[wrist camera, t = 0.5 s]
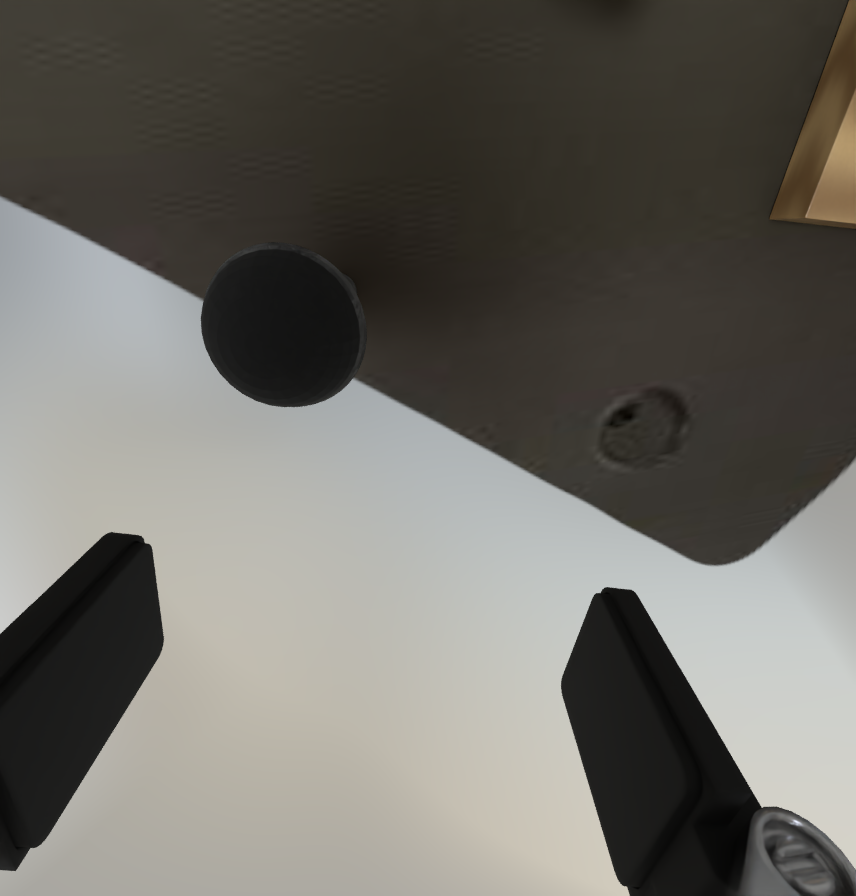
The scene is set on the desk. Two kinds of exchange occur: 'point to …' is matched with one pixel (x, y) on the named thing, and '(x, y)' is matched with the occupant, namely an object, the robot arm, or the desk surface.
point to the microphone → (283, 325)
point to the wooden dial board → (826, 144)
